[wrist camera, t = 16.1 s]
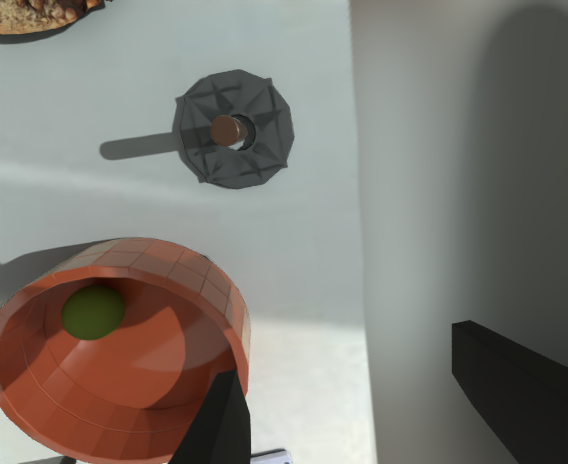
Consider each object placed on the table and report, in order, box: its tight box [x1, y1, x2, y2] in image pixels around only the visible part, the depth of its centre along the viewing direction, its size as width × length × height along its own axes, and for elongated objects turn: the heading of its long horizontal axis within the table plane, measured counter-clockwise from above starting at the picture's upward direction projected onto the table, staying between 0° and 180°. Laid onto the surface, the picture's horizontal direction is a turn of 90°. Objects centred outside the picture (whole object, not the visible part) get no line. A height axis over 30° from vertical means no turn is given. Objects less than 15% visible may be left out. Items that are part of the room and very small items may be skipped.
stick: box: [210, 115, 247, 147], centre depth 13 cm, size 1×1×6 cm
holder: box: [180, 69, 294, 189], centre depth 16 cm, size 6×6×1 cm
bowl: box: [0, 238, 251, 464], centre depth 18 cm, size 13×13×4 cm
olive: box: [61, 285, 125, 341], centre depth 17 cm, size 3×3×3 cm
